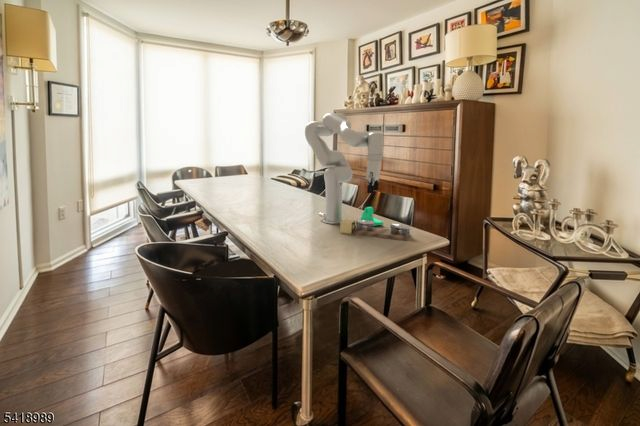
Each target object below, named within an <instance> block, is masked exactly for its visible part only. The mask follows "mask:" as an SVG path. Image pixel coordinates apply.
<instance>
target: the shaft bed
mask: <svg viewBox="0 0 640 426" xmlns="http://www.w3.org/2000/svg"><path fill="white" fill-rule="evenodd" d="M401 232H402V230H399V232H398V233H397V234H392V233H391V228H381V227H375V226H373V229H372V231H367V226H362V229H361V230H356V229H355V231H354V233H353V234H354V235H361V236H362V235H363V236H368V237H376V238H383V239H384V238H385V239H391V240H399V241H406V240H407V239H408V238H409V236H410V234H411V233H410V232H411V231H409V234H408V235H407V236H403V235H401Z"/></svg>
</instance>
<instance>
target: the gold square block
mask: <svg viewBox="0 0 640 426" xmlns="http://www.w3.org/2000/svg"><path fill="white" fill-rule="evenodd" d="M343 219H344V220H343V221H341V222H340V224H339V225H340V226H339V229H340V230H339V231H340V234H347V235H353V234H354V231H355V230H356V220H355V219H354V220H353V219H348V218H346V219H345V218H343Z"/></svg>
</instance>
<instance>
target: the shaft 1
mask: <svg viewBox="0 0 640 426" xmlns="http://www.w3.org/2000/svg"><path fill="white" fill-rule="evenodd" d="M355 226H356V227H355V230H361V229H362V226H366V227H367V231H372V229H373V227H375V226H374V221H366V220H361V219H356V220H355Z"/></svg>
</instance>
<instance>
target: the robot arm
mask: <svg viewBox="0 0 640 426" xmlns="http://www.w3.org/2000/svg"><path fill="white" fill-rule="evenodd" d="M334 134H337V135H339V138H340V139H341V141H342V142H344V143H345V144H347V145H349V146H350V147H353V148H359V147H360V148H363V147H364V148H367V150H366V152H367V153H366V154H367V155H366V161H367V165H366V175H365V180H366V181H367V188H366V189H367V191H366V192H367V194H372V195H373V194H374V192H375V191H379V186H380V185H379V179H380V176H381V162H383V154H384V152H383V151H384V133H383V132H373V131H372V132H371V131H355V130H353V129H352V123H351V122H350V121H349V120H348V118H347V116H346V115H345V114H344V113H340V112H339V113H337V112H328V113H326V114H325V115H324V116H323V117H322V121H321V120H320V121H319V120H316V121H315V120H314V121H310V122H308V123H307V124H306V126H305V129H304V136H305V139H306V141H307V143H308V145H309V146H310V148H311V149H312V151H313V153H314V156H315V157H316V160H318V163H319V165H320V166H321V167H323V168H325V169H324V174H323V178H324V185H325V209H324V210H325V212H319V217H320V218H322V222H323V223H324V224H330V225H338V224H339V225H340V222H341V221H343V220H344V219H345V218H343V189H342V187H341V184H343V183H347V182H350V181H351V180H352V179H353V174H354V173H353V170H352V167H351V166H350V164H349V162H348V160H347V159H346V156H345V155H344V153H343V152H342V151H339V150H335V149H334V150H331V149H330V148H329V146H328V144H327V143H326V142H325V140H324V139H323V138H321V137H331V136H333V135H334Z"/></svg>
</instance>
